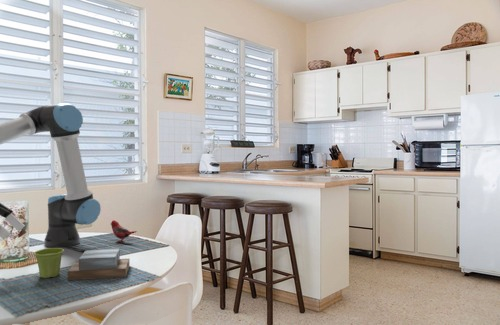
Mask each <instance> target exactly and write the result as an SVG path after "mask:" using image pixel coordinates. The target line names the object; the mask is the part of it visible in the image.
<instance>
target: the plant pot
mask: <svg viewBox="0 0 500 325" xmlns="http://www.w3.org/2000/svg"><path fill="white" fill-rule="evenodd" d="M64 251H65V249H64V248H62V247H49V248H43V249H39V250H36V251H35V252H33V254H34V256H35V259H36V260H37V267H38V272H39V277H40V278H44V279H49V278H51V277H52V278H55V277H58V276H59V275H60V271H61V263H62V257H63V253H64Z"/></svg>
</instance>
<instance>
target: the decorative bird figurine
mask: <svg viewBox="0 0 500 325" xmlns="http://www.w3.org/2000/svg"><path fill="white" fill-rule="evenodd" d="M110 225H111V229H112V232H113V234H114V236H115V237H116V238H118V240H116V241H117V242H119V243H120V242H121V243H125V241H124V239H126V238H128V237H130V235H132V234H135V233H137V232H138V231H137V230H135V231H134V230H133V231H130V230H128V229H127V228H125V227H124V226H122V225H121V224H119V222H118V221H117V220H112V221H111V222H110Z"/></svg>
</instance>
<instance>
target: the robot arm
mask: <svg viewBox="0 0 500 325" xmlns="http://www.w3.org/2000/svg"><path fill="white" fill-rule="evenodd" d="M82 114H83V113H82V112H81V110H80V109H79V108H78V107H76V106H75V105H73V104H71V103H57V104H56V103H55V104H44V105H41V106H38V107H36V108H33V109H31V110H29V111H26V112H23V113H21V114H20V115H19V116H18V117H17V118H16V117H15V118H14V119H11V120H9V121H6V122H3V123H0V146H1V145H3V144H5V143H8V142H11V141H13V140H16V139H19V138H21V137H23V136H26V135H29V136H32V135H35V134H38V133H46V132H47V133H48V132H49V134H50V138H51V139H52V140H54V141H55V143H56V147H57V152H58V156H59V161H60V162H59V163H60V165H61V170H62V176H63V179H64V184H65V188H66V193H67V194H59V195H51V196H49V197H48V199H47V200H48V201H47V211H48V212H47V214H48V216H47V217H48V220H47V222H48V223H47V224H48V228H47V231H46V235H45V238H44V242H43V243H44V247H49V248H62V247H63V248H65V247H70V246H75V245H78V244H80V243H81V237H80V233H79V231H78V229H77V225H81V226H83V225H86V226H87V225H92V224H93V223H95V222H96V221H97V220H98V217H99V216H100V214H101V207H102V206H101V203H100V201H98V200H97V199H96V198H95V199H94V195H93V192H92V191H91V190H90V189H89V188H88V184H87V180H86V175H85V169H84V166H83V165H84V163H83V160H82V155H81V150H80V145H79V139H78V136H79V135H80V134H81V132H80V128H82V125H83V122H84V119H83V118H84V117H83V115H82ZM13 212H14V211H13V210H12V209H11V208H9V207H8V206H6V205H4V204H2V203H1V202H0V216H1V217H3V218H4V220H5V221H6V222H7V223H8V224H10V225H11V226H12V227H13V228H14V229H15V230H17V232H21V230H22V229H24V227H25V226H26V224H24V223H23V222H21V221H20V220H19V219H18V218H17V217H16V216H15V215H14V214H13ZM76 224H77V225H76ZM10 235H11V232H10V231H9V230H8V229H6V228H5V226H3V225H2V224H1V223H0V238H1V240H5V239H7V238H8V236H10Z"/></svg>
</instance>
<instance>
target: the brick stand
mask: <svg viewBox="0 0 500 325" xmlns="http://www.w3.org/2000/svg"><path fill="white" fill-rule="evenodd" d="M120 254H121V253H120V248H109V249H86V250H84V252H83V253H82V254H81V255H80V256H79V257H78V260H76V261H75V262H74V263H73V264H72V266H71V267H70V268H69V269H68V270H67V281H73V280H76V281H77V280H94V279H95V280H96V279H111V278H114V279H115V278H126V277H127V275H128V271H129V269H130V258H121V256H120Z"/></svg>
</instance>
